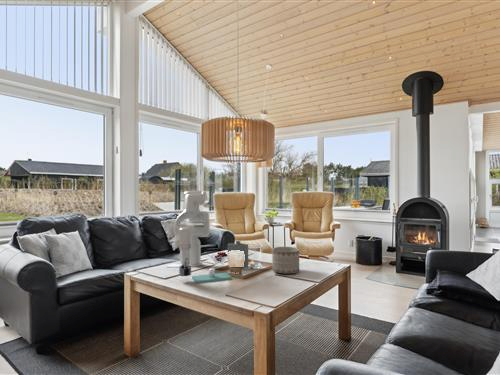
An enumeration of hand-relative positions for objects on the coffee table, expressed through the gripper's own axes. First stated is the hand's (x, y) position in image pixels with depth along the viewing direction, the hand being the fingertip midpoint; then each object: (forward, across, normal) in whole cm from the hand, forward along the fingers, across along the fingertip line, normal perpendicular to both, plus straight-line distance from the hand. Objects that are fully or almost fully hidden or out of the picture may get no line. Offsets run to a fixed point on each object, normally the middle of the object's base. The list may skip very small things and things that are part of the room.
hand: (185, 273), depth 211 cm
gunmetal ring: (+1, 0, 0) cm, 1 cm away
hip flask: (+7, -22, +45) cm, 50 cm away
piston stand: (+6, +1, +18) cm, 19 cm away
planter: (+6, +5, +72) cm, 72 cm away
